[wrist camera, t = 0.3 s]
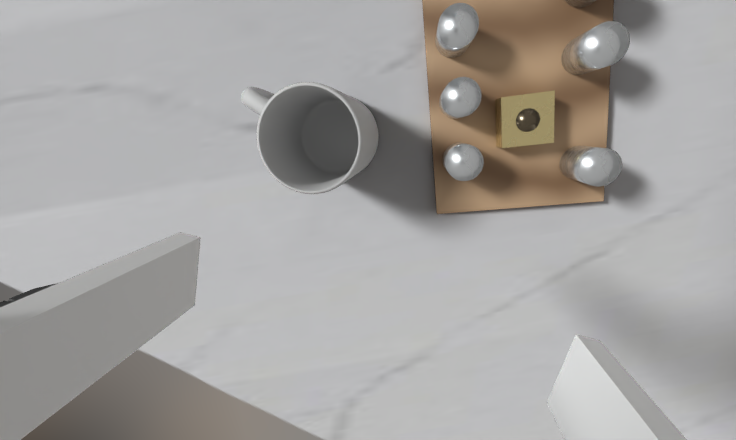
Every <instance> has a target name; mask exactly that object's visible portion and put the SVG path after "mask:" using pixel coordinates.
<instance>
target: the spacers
mask: <svg viewBox="0 0 736 440" xmlns="http://www.w3.org/2000/svg"><path fill="white" fill-rule="evenodd" d="M565 1H566V2H567V3H568V4H569V5H570V6H572V7H575V8H583V7H586V6H588V5H590V4H592V3H593V2H595V1H596V0H565ZM478 28H479V18H478V15H477V12H476V11H475V9H474V8H473V7H472V6H470V5H468V4H466V3H455V4H453V5H451V6H449V7H448V8H446V9H445V10H444V12H443V13H442V14H441V16H440V19H439V22H438V28H437V33H436V38H435V43H436V47H437V50H438V51H439V53H440V54H442V55H443V56H445V57H447V58H455V57H458V56H460V55H462V54H463V53H464V52H465V51H466V50H467V48H468V47H469V45H470V44H471V42H472V40H473V39H474V37H475V35H476V34H477V31H478ZM629 44H630V36H629V32H628V30H627V28H626V27H625V26H624V25H623V24H621V23H619V22H615V21H607V22H603V23H601V24H599V25H597V26H596V27H594V28H592V29H590V30H589V31H587V32H585V33H583V34H582V35H580V36H578V37H576V38H575V39H573V40H571V41H570V42H569V43H568V44H567V45H566V46H565V48H564V50H563V52H562V56H561V62H562V65H563V68H564V69H565V70H566V71H567V72H568V73H570V74H572V75H583V74H586V73H589V72H592V71H595V70H598V69H601V68H604V67H607V66H610V65H613V64H615V63H616V62H618V61H619V60H620V59H621V58H622V57H623V56H624V55H625V53H626V52H627V50H628V47H629ZM480 102H481V89H480V87H479V85H478V84H477V82H476V81H474V80H473V79H471V78H468V77H458V78H456V79H453V80H452V81H451V82H449V83H448V85H447V86H446V87H445V89H444V90H443V92H442V93H441V96H440V99H439V106H440V109H441V111H442V113H443V114H444V115H445V116H447V117H449V118H453V119H457V118H461V117H465V116H468V115H470V114H472V113H473V112H474V111H475V110H476V109H477V108H478V106H479V104H480ZM483 164H484V159H483V155H482V153H481V152H480V150H479V149H478V148H476V147H474V146H472V145H469V144H466V143H461V142H459V143H454V144H452V145H450V146H449V147H448V148H447V149H446V150H445V152H444V154H443V165H444V167H445V168H446V170H447V171H448V173H449V174H450V175H451V176H452V177H453V178H454V179H456V180H459V181H469V180H472V179H474V178H475V177H477V176H478V175H479V174H480V172H481V171H482V168H483ZM559 167H560V170H561V172H562V174H563V175H564V176H566V177H568V178H570V179H573V180H576V181H579V182H582V183H585V184H588V185H592V186H597V187H600V186H605V185H608V184H610V183H612V182H613V181H614V180H615V179H616V178H617V177H618V176H619V174H620V172H621V169H622V160H621V157H620V156H619V154H618V153H617V152H615V151H614V150H612V149H608V148H599V147H590V146H574V147H571V148H569V149H568V150H566V151H565V152H564V153H563V155H562V156H561V159H560V163H559Z"/></svg>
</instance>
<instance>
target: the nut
mask: <svg viewBox="0 0 736 440" xmlns="http://www.w3.org/2000/svg"><path fill="white" fill-rule="evenodd" d="M554 106H555V91H547V92H540V93H532V94H524V95H516V96H508V97H501V98H498V99H496V100H495V117H496V147H500V148H508V147H518V146H527V145H537V144H546V143H554Z"/></svg>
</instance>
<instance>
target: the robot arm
mask: <svg viewBox="0 0 736 440" xmlns="http://www.w3.org/2000/svg"><path fill="white" fill-rule="evenodd" d="M199 249H200V237H197V236H193V235H190V234H186V233H182V232H180V233H177V234H175V235H173V236H170V237H168V238H165V239H163V240H161V241H158V242H156V243H153V244H151V245H149V246H146V247H144V248H141V249H139V250H137V251H134V252H132V253H129V254H127V255H125V256H122V257H120V258H117V259H115V260H113V261H110V262H108V263H105V264H103V265H101V266H98V267H96V268H94V269H91V270H89V271H86V272H84V273H82V274H79V275H77V276H74V277H72V278H70V279H67V280H65V281H62V282H60V283H57V284H52V285H48V286H44V287H39V288H35V289H32V290H30V291H27V292H25V293H22V294H20V295H17V296H15V297H12V298H10V299H9V301H3V302H0V440H21V439H22V438H23V437H24V436H25V435H27V434H28V433H30V432H31V431H32V430H33V429H35V428H36V427H37V426H39V425H40V424H41V423H43V422H44V421H45V420H46V419H48V418H49V417H50V416H52V415H53V414H54V413H56V412H57V411H58V410H59V409H61V408H62V407H63V406H64V405H66V404H67V403H68V402H70V401H71V400H72V399H74V398H75V397H76V396H78V395H79V394H80V393H81V392H83V391H84V390H85V389H87V388H88V387H89V386H91V385H92V384H93V383H95V382H96V381H97V380H98V379H99V378H101V377H102V376H103V375H105V374H106V373H107V372H109V371H110V370H111V369H113V368H114V367H115V366H117V365H118V364H119V363H120V362H122V361H123V360H124V359H126V358H127V357H128V356H130V355H131V354H132V353H133V352H135V351H136V350H137V349H139V348H140V347H141V346H142V345H144V344H145V343H146V342H148V341H149V340H150V339H152V338H153V337H154V336H155V335H157V334H158V333H159V332H161V331H162V330H163V329H165V328H166V327H167V326H168V325H170V324H171V323H172V322H174V321H175V320H176V319H178V318H179V317H180V316H181V315H183V314H184V313H185V312H187V311H188V310H189V309H190V308H192V307H193V306H194V305H195V297H196V285H197V273H198V261H199ZM547 404H548V406H549V408H550V410H551V412H552V414H553V417H554V419H555V421H556V423H557V425H558V427H559V429H560V431H561V433H562V435H563V438H564V440H687V439H686V438H685V437H684V436H683V435H682V433H681V432H680V431H679V430H678V429H677V428H676V427H675V425H674V424H673V423H672V422H671V421H670V420H669V419H668V417H667V416H666V415H665V414H664V413H663V412H662V411H661V409H660V408H659V407H658V406H657V405H656V404H655V403H654V401H653V400H652V399H651V398H650V397H649V396H648V395H647V393H646V392H645V391H644V390H643V389H642V388H641V387H640V385H639V384H638V383H637V382H636V381H635V380H634V379H633V377H632V376H631V375H630V374H629V373H628V372H627V371H626V369H625V368H624V367H623V366H622V365H621V364H620V363H619V362H618V360H617V359H616V358H615V357H614V356H613V355H612V354H611V352H610V351H609V350H608V349H607V348H606V347H605V346H604V344H603V343H602V342H601V341H600V340H596V339H592V338H588V337H584V336H580V335H577V334H576V336H575V338H574V340H573V343H572V345H571V347H570V350H569V352H568V354H567V356H566V359H565V361H564V363H563V366H562V368H561V370H560V373H559V375H558V377H557V380H556V382H555V384H554V387H553V389H552V391H551V394H550V396H549V398H548V400H547Z"/></svg>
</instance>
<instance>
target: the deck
mask: <svg viewBox="0 0 736 440" xmlns="http://www.w3.org/2000/svg"><path fill="white" fill-rule="evenodd" d="M422 3H423V18H424V33H425V48H426V62H427V77H428V92H429V106H430V121H431V136H432V151H433V165H434V180H435V195H436V209H437V214H443V213H456V212H469V211H482V210H495V209H508V208H520V207H533V206H546V205H559V204H572V203H585V202H598V201H604V186H600V187H597V186H592V185H588V184H585V183H582V182H579V181H576V180H573V179H570V178H568V177H566V176H564V175H563V174H562V172H561V170H560V167H559V163H560V159H561V156H562V155H563V153H564V152H565V151H566V150H568V149H569V148H571V147H574V146H590V147H599V148H606V145H607V125H608V105H609V85H610V66H607V67H604V68H601V69H598V70H595V71H592V72H589V73H586V74H583V75H572V74H570V73H568V72H567V71H566V70H565V69H564V68H563V65H562V62H561V56H562V52H563V50H564V48H565V46H566V45H567V44H568V43H569V42H570V41H571V40H573V39H575V38H576V37H578V36H580V35H582V34H583V33H585V32H587V31H589V30H590V29H592V28H594V27H596V26H597V25H599V24H601V23H603V22H607V21H613V5H614V0H596V1H595V2H593V3H592V4H590V5H588V6H586V7H583V8H575V7H572V6H570V5H569V4H568V3H567V2H566V1H565V0H422ZM455 3H466V4H468V5H470V6H472V7H473V8H474V9H475V11H476V12H477V15H478V18H479V28H478V31H477V34H476V35H475V37H474V39H473V40H472V42H471V44H470V45H469V47H468V48H467V50H466V51H465V52H464V53H463V54H462V55H460V56H458V57H455V58H447V57H445V56H443V55H442V54H440V53H439V51H438V50H437V47H436V43H435V38H436V33H437V28H438V22H439V19H440V16H441V14H442V13H443V12H444V10H445V9H446V8H448V7H449V6H451V5H453V4H455ZM458 77H468V78H471V79H473V80H474V81H476V82H477V84H478V85H479V87H480V89H481V102H480V104H479V106H478V108H477V109H476V110H475V111H474V112H473V113H472V114H470V115H468V116H465V117H461V118H457V119H453V118H449V117H447V116H445V115H444V114H443V113H442V111H441V109H440V106H439V99H440V96H441V93H442V92H443V90H444V89H445V87H446V86H447V85H448V83H449V82H451V81H452V80H453V79H456V78H458ZM547 91H555V106H554V143H546V144H537V145H527V146H518V147H508V148H500V147H496V117H495V100H496V99H498V98H501V97H508V96H516V95H524V94H532V93H540V92H547ZM459 142H461V143H466V144H469V145H472V146H474V147H476V148H478V149H479V150H480V152H481V153H482V155H483V159H484V164H483V168H482V171H481V172H480V174H479V175H478V176H477V177H475V178H474V179H472V180H469V181H459V180H456V179H454V178H453V177H452V176H451V175H450V174H449V173H448V171H447V170H446V168H445V167H444V165H443V154H444V152H445V150H446V149H447V148H448V147H449V146H450V145H452V144H454V143H459Z"/></svg>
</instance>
